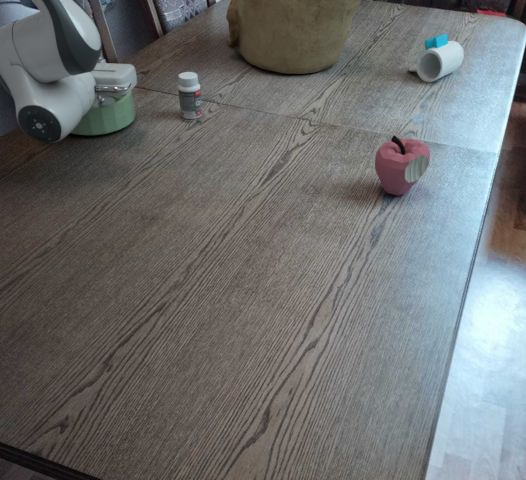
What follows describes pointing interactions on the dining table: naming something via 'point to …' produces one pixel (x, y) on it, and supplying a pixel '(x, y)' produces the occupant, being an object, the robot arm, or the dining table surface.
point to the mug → (438, 58)
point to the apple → (401, 164)
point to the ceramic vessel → (290, 32)
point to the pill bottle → (189, 95)
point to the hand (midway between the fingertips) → (95, 62)
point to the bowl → (107, 117)
